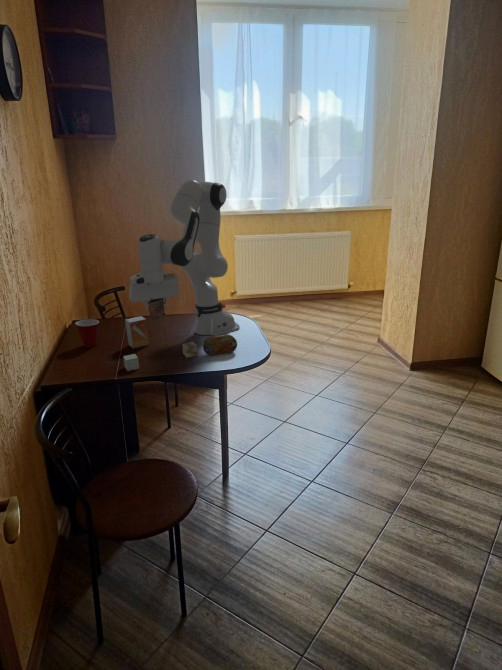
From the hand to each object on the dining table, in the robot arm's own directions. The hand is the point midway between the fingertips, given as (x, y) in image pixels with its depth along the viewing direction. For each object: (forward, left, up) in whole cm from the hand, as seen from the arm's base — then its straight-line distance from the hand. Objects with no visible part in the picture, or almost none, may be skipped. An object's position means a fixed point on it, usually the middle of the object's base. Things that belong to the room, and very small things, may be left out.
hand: (156, 309), depth 192 cm
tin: (-25, +4, -24) cm, 35 cm away
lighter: (0, 0, -4) cm, 4 cm away
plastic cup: (+24, -40, -24) cm, 53 cm away
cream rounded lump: (-13, -2, -24) cm, 27 cm away
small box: (+4, -27, -24) cm, 36 cm away
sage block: (+13, -2, -24) cm, 27 cm away
